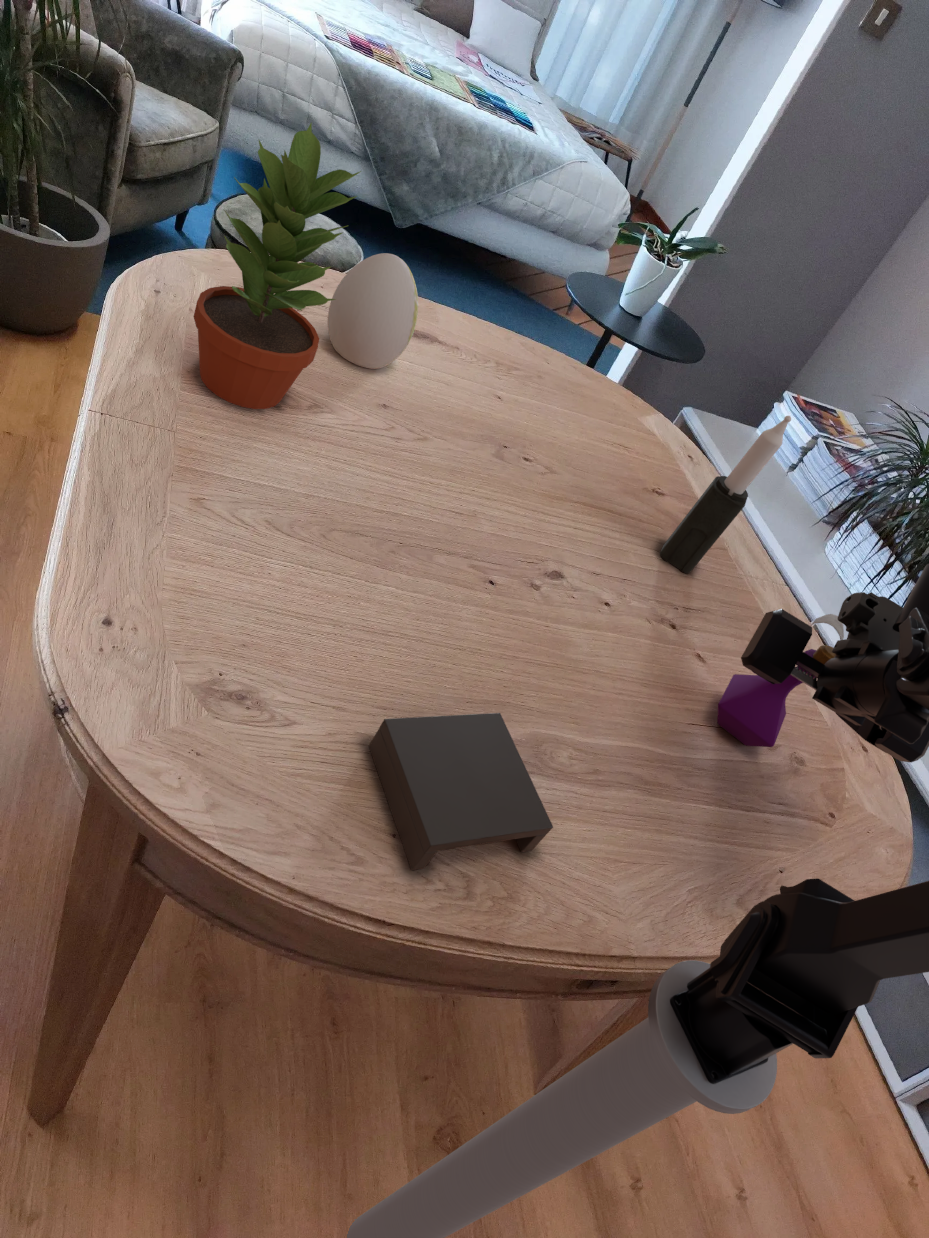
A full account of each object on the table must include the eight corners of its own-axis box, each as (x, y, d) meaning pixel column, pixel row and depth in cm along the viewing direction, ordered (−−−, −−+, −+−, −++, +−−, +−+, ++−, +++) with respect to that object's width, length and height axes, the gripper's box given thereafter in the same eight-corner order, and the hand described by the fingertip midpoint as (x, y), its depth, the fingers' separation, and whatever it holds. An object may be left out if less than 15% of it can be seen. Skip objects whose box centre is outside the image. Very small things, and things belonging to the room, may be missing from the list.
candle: (694, 560, 123) (808, 421, 107) (688, 576, 119) (805, 433, 103) (665, 541, 123) (774, 399, 107) (658, 556, 119) (770, 411, 103)
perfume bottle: (768, 729, 101) (875, 630, 90) (754, 763, 95) (867, 662, 84) (717, 690, 102) (817, 588, 91) (701, 721, 96) (805, 616, 85)
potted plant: (204, 419, 96) (275, 154, 77) (166, 343, 103) (223, 85, 85) (320, 427, 105) (409, 191, 86) (277, 356, 113) (351, 126, 94)
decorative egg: (413, 373, 126) (454, 282, 117) (357, 382, 117) (395, 283, 108) (360, 326, 129) (395, 233, 120) (301, 331, 120) (334, 231, 111)
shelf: (531, 850, 73) (553, 827, 71) (411, 870, 67) (430, 845, 64) (482, 737, 80) (500, 712, 77) (368, 745, 73) (384, 718, 71)
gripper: (1018, 660, 73) (912, 667, 89) (835, 549, 73) (761, 575, 89) (961, 771, 72) (863, 758, 87) (775, 658, 72) (710, 665, 87)
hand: (801, 686), depth 88 cm, fingers open, 9 cm apart
